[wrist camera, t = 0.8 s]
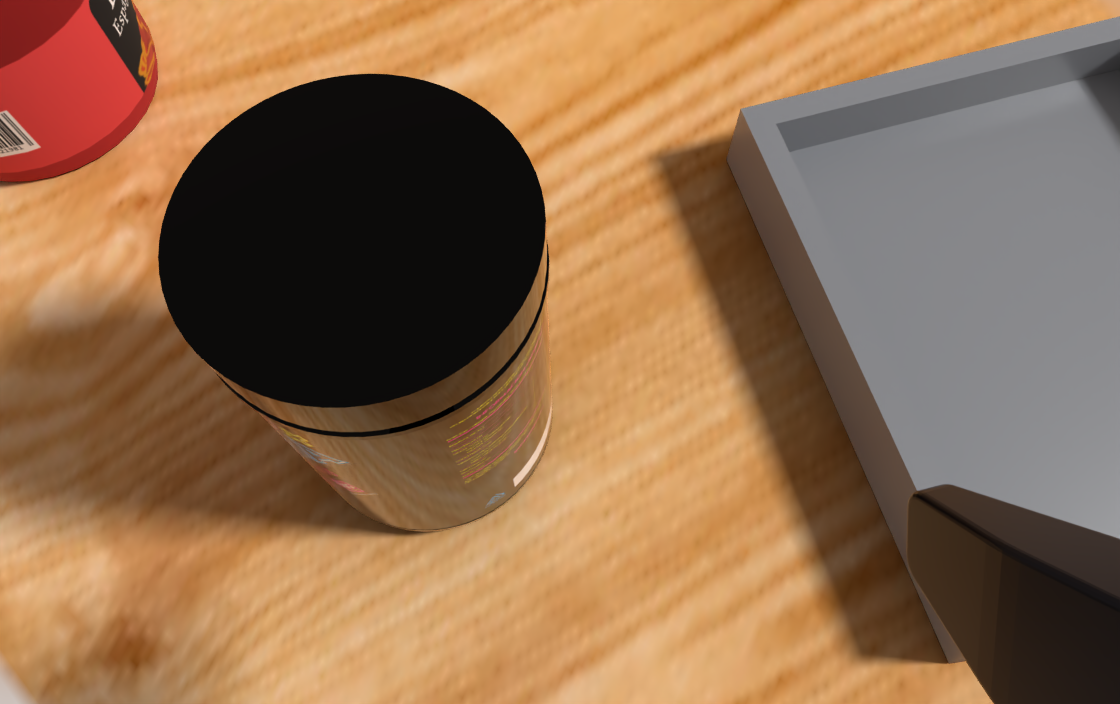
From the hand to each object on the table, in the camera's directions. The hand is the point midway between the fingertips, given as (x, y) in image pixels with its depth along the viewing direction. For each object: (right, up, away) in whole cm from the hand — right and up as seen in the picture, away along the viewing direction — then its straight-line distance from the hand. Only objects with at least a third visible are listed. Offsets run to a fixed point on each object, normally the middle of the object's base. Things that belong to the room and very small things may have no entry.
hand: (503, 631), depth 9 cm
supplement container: (-3, +1, +16) cm, 16 cm away
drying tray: (+15, +4, +17) cm, 23 cm away
